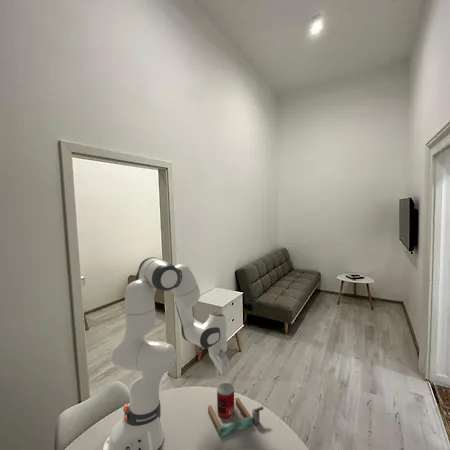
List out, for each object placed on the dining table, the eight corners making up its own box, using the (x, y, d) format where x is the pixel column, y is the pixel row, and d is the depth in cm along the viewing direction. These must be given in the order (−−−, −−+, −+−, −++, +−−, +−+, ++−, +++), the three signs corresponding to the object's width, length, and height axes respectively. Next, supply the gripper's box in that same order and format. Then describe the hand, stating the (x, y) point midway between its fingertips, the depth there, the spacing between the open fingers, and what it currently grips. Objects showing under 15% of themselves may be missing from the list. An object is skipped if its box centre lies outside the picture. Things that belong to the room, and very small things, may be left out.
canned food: (235, 406, 120) (234, 383, 120) (233, 419, 112) (233, 394, 112) (218, 406, 120) (218, 382, 121) (216, 418, 112) (215, 393, 113)
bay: (219, 438, 102) (219, 423, 102) (208, 412, 116) (207, 399, 116) (265, 423, 109) (264, 409, 109) (248, 400, 124) (248, 388, 124)
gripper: (232, 354, 117) (233, 384, 117) (217, 336, 136) (217, 362, 136) (219, 357, 115) (220, 388, 115) (205, 338, 134) (206, 364, 134)
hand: (218, 373), depth 126 cm, fingers closed
